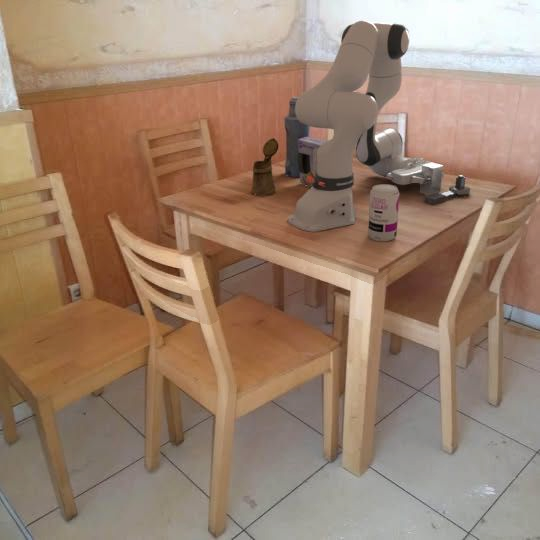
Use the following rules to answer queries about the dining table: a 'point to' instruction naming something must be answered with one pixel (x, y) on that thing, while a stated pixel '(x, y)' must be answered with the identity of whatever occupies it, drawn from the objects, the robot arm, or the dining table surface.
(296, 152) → the bottle
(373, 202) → the supplement can
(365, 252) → the dining table surface
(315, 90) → the robot arm
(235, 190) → the dining table surface
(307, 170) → the cake pan box
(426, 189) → the tall grey pillar block
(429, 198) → the ratchet
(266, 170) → the wooden mug
